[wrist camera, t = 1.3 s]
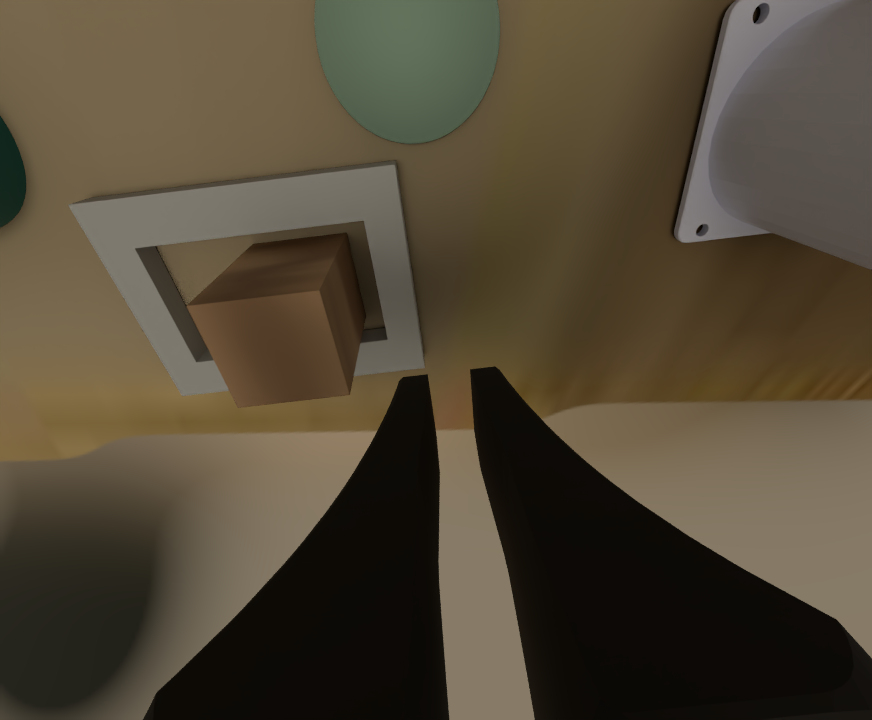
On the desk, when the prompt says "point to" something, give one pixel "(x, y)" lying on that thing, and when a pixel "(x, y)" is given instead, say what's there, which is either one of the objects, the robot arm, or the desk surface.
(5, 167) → the bracket
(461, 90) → the green pad
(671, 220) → the desk surface
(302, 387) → the walnut block
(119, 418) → the desk surface
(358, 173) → the slot board
